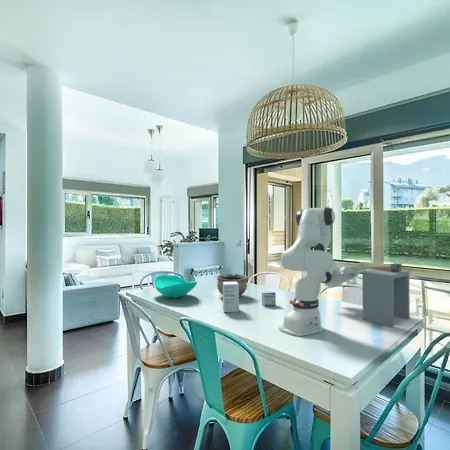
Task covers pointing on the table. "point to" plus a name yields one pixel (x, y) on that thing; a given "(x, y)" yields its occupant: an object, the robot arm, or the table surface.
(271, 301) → the medicine box
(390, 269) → the beech handle
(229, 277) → the ceramic bowl
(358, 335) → the table surface
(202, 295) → the table surface
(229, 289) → the supplement box
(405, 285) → the shelf stand
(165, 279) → the table top decor
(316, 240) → the robot arm
